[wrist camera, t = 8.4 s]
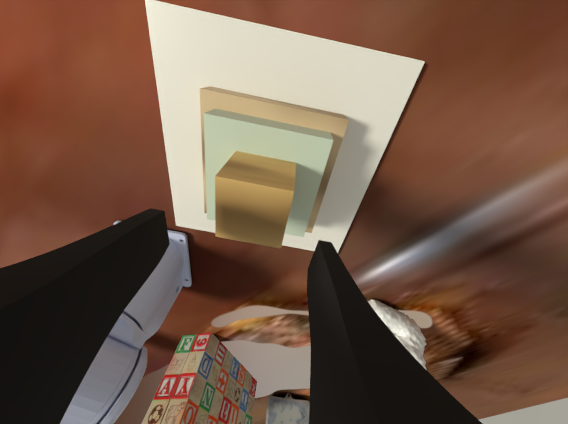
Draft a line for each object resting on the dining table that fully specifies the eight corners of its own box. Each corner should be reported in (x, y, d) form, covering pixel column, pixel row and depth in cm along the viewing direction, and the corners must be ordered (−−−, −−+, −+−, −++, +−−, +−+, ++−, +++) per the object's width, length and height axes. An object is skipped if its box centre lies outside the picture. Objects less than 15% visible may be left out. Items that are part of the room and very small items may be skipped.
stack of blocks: (258, 380, 48) (246, 465, 37) (233, 381, 49) (215, 463, 39) (211, 331, 37) (176, 432, 26) (181, 334, 38) (137, 431, 28)
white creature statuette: (368, 295, 28) (405, 419, 18) (432, 304, 28) (503, 432, 18) (346, 331, 33) (365, 442, 23) (400, 339, 33) (442, 452, 23)
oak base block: (310, 220, 21) (311, 233, 20) (212, 201, 21) (204, 212, 19) (344, 114, 16) (349, 119, 14) (210, 86, 15) (199, 88, 14)
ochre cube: (285, 212, 16) (280, 248, 13) (233, 202, 16) (215, 236, 13) (296, 162, 14) (294, 191, 11) (236, 150, 14) (215, 176, 10)
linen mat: (336, 252, 24) (336, 255, 24) (177, 223, 23) (176, 225, 23) (422, 61, 14) (424, 61, 14) (148, -1, 13) (144, -2, 13)
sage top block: (303, 222, 19) (303, 237, 17) (215, 206, 19) (207, 219, 17) (329, 132, 15) (333, 140, 13) (215, 108, 14) (203, 113, 13)
